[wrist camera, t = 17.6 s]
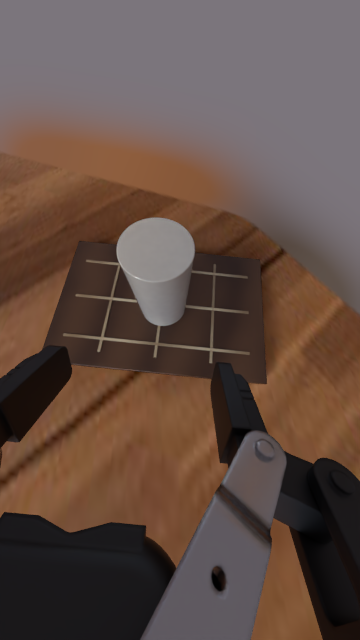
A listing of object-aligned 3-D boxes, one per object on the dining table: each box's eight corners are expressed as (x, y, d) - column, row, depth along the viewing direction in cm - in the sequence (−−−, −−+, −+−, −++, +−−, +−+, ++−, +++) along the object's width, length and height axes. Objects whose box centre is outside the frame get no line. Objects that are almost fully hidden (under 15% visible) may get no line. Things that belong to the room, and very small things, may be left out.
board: (49, 362, 17) (36, 360, 16) (85, 249, 21) (78, 239, 20) (259, 383, 17) (267, 384, 16) (254, 267, 21) (260, 258, 20)
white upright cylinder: (137, 323, 17) (107, 277, 9) (144, 282, 18) (124, 213, 11) (183, 328, 17) (192, 286, 9) (187, 286, 18) (197, 220, 11)
